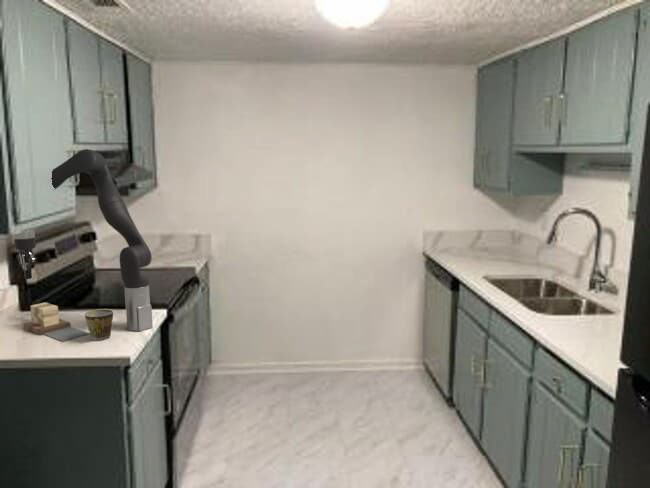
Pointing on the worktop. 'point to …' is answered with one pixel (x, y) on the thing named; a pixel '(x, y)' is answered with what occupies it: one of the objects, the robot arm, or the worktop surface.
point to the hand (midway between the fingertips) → (28, 278)
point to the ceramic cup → (99, 323)
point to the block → (44, 314)
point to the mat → (66, 334)
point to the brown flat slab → (47, 329)
